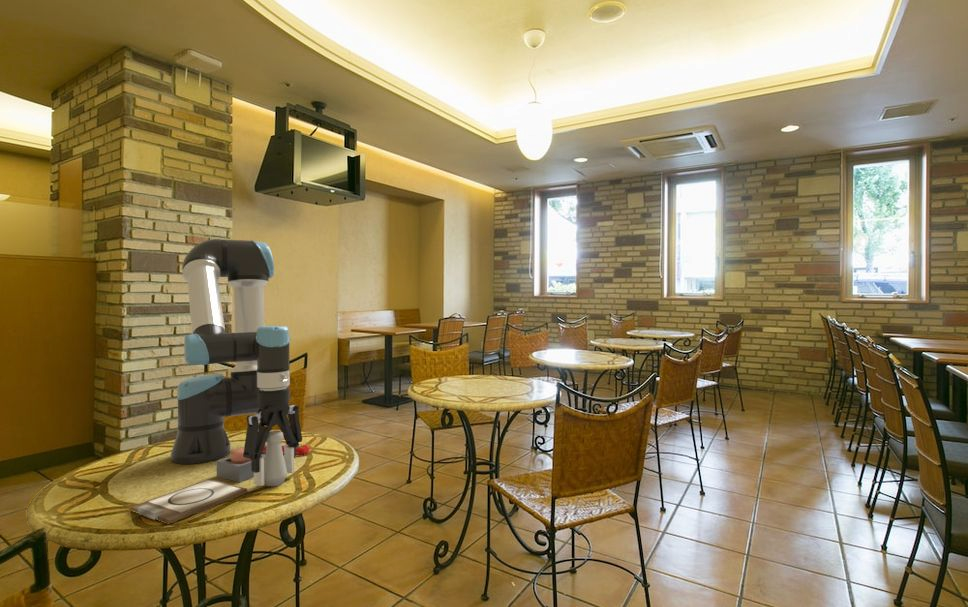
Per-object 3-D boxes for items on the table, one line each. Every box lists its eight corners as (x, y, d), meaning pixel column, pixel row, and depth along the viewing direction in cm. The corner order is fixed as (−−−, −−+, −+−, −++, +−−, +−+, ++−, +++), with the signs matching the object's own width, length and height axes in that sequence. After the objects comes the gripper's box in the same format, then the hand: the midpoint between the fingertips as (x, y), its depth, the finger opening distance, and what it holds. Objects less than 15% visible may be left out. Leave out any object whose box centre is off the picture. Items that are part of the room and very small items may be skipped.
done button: (225, 463, 126) (225, 452, 126) (246, 457, 132) (246, 446, 132) (240, 467, 124) (240, 455, 123) (261, 460, 129) (261, 449, 129)
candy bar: (254, 455, 143) (254, 445, 143) (261, 451, 147) (261, 441, 147) (305, 457, 141) (305, 447, 141) (311, 453, 145) (311, 443, 145)
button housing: (216, 476, 126) (216, 461, 126) (247, 465, 134) (247, 451, 134) (239, 482, 122) (239, 466, 122) (269, 470, 130) (269, 455, 130)
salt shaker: (292, 480, 123) (291, 429, 122) (275, 489, 117) (275, 435, 117) (273, 477, 125) (273, 427, 124) (256, 486, 119) (256, 433, 119)
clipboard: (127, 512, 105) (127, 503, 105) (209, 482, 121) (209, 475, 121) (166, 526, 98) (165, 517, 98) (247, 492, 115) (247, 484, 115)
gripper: (246, 397, 109) (247, 496, 110) (316, 382, 128) (317, 467, 129) (224, 394, 113) (225, 490, 113) (296, 379, 132) (297, 462, 132)
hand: (274, 478), depth 121 cm, fingers open, 8 cm apart
